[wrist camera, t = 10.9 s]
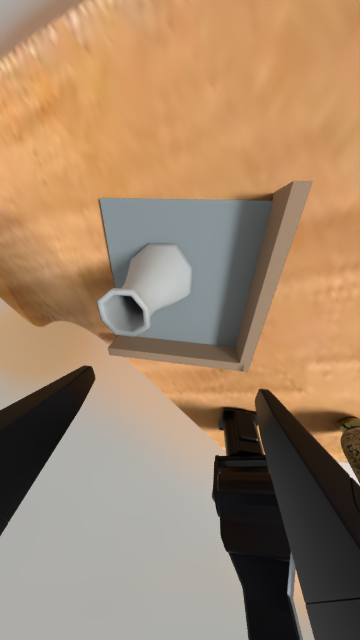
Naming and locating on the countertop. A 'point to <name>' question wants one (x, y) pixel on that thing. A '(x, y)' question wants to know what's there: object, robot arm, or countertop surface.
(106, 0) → the countertop surface
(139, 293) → the flask
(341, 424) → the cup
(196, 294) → the corner arena
